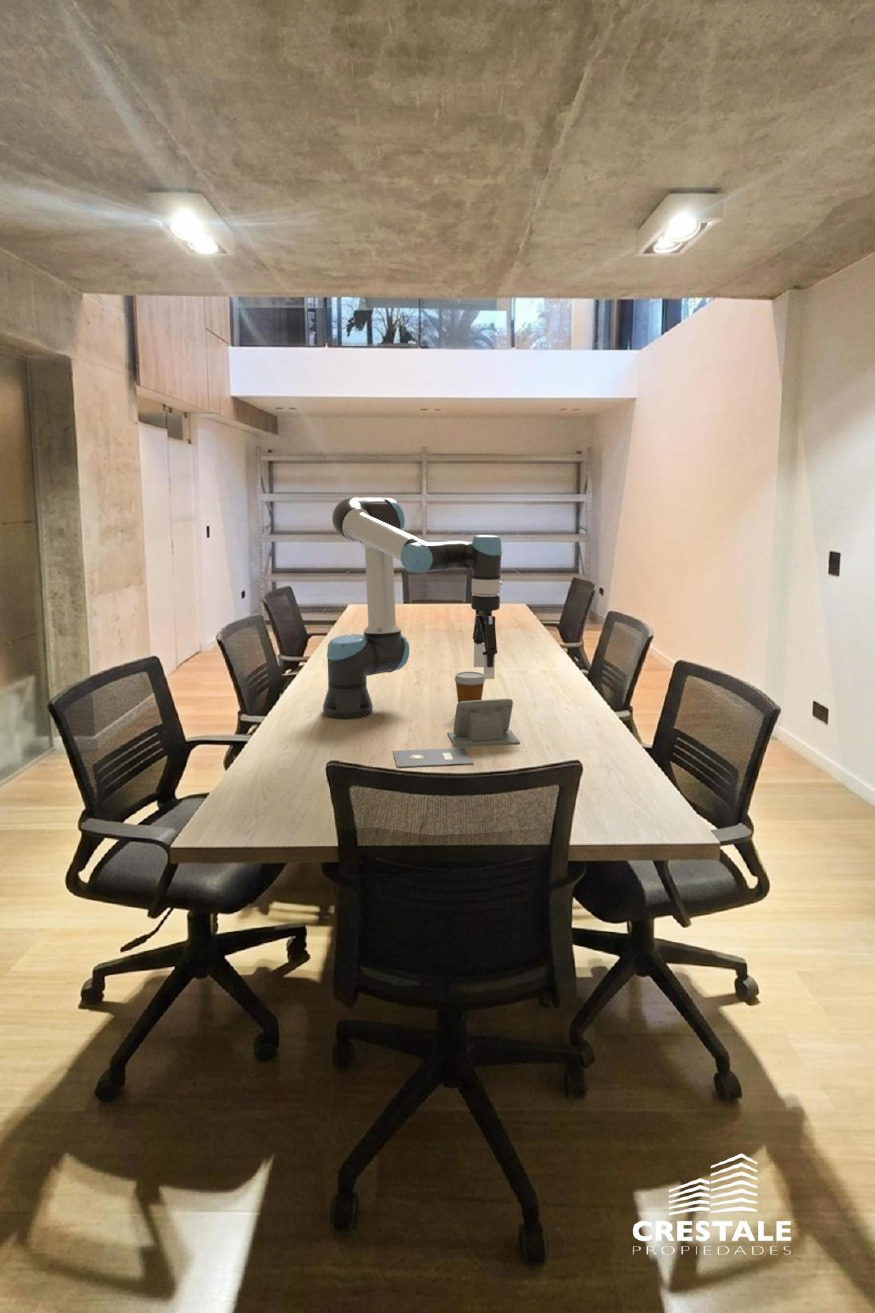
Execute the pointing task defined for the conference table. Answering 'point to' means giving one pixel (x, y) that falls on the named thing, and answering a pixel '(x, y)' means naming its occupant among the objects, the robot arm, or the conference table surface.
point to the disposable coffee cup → (469, 686)
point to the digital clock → (483, 719)
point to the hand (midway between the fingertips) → (483, 672)
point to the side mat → (465, 741)
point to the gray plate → (431, 757)
